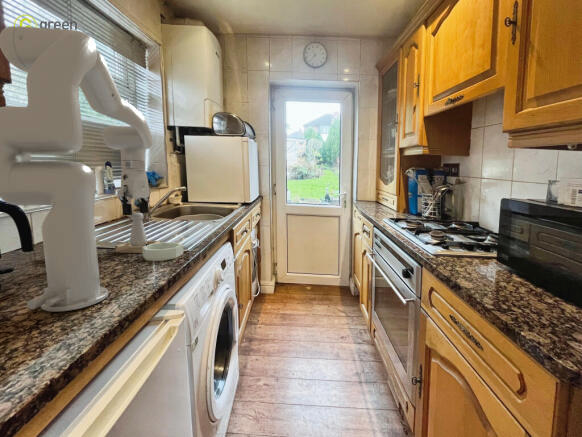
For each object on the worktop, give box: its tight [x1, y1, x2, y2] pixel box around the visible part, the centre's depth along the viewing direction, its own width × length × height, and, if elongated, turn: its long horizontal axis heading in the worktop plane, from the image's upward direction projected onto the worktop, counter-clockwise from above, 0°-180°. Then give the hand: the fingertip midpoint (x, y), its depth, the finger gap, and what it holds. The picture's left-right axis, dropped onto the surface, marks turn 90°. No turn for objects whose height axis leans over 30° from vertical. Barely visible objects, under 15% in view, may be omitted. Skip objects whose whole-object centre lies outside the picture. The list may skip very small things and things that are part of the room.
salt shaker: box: [129, 212, 148, 247], centre depth 110 cm, size 6×6×13 cm
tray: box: [114, 240, 162, 254], centre depth 111 cm, size 11×11×2 cm
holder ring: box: [142, 241, 184, 262], centre depth 102 cm, size 12×12×4 cm
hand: (136, 213), depth 109 cm, fingers open, 9 cm apart
